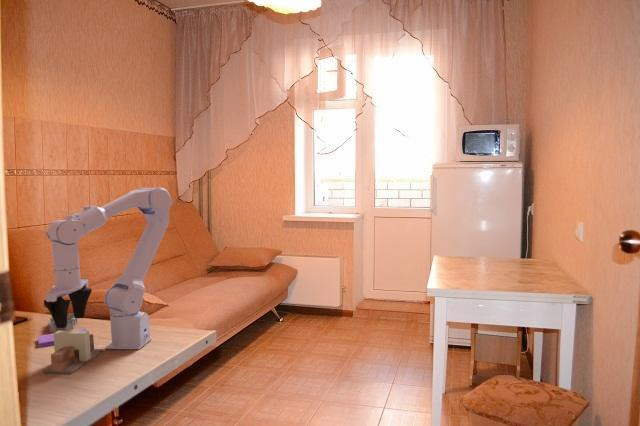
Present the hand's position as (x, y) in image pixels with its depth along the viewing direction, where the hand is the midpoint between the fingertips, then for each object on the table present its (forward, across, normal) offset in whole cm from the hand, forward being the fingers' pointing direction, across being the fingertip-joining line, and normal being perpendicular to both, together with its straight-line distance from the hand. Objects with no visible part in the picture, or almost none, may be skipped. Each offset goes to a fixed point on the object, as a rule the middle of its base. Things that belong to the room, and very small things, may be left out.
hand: (70, 322), depth 121 cm
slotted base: (+10, 0, 0) cm, 10 cm away
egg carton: (+10, -27, -19) cm, 35 cm away
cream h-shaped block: (+9, 0, 0) cm, 9 cm away
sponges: (+11, -16, -12) cm, 22 cm away
